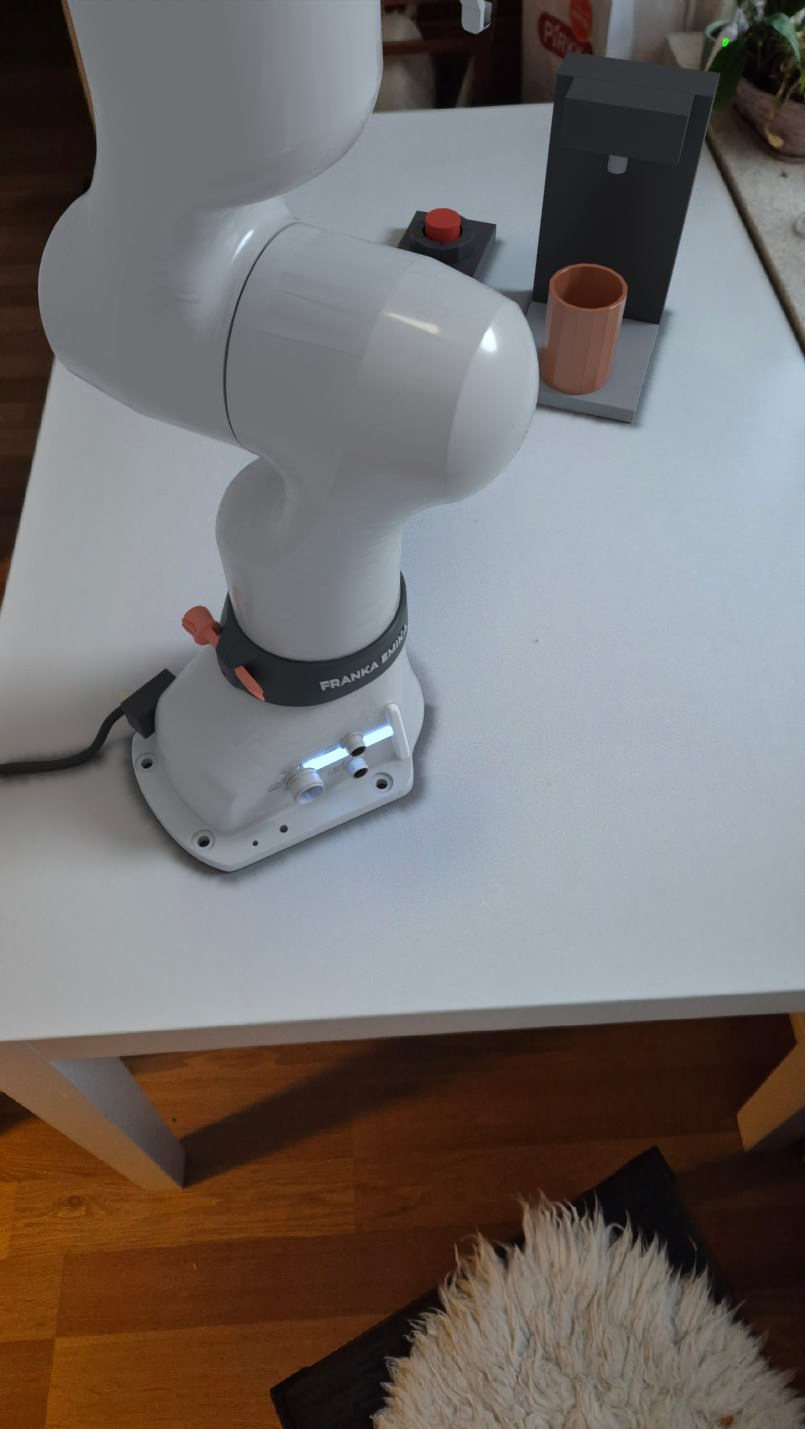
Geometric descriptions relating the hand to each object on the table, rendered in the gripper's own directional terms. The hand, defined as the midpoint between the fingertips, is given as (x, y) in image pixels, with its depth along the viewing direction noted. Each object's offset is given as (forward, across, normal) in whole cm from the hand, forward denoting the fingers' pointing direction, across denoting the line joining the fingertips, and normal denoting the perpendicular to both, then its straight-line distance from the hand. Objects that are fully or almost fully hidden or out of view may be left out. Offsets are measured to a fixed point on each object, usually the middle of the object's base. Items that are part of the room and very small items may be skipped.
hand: (512, 6), depth 81 cm
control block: (+28, +2, +8) cm, 29 cm away
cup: (+26, -5, -14) cm, 30 cm away
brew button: (+24, +2, +8) cm, 25 cm away
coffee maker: (+28, 0, -12) cm, 30 cm away
